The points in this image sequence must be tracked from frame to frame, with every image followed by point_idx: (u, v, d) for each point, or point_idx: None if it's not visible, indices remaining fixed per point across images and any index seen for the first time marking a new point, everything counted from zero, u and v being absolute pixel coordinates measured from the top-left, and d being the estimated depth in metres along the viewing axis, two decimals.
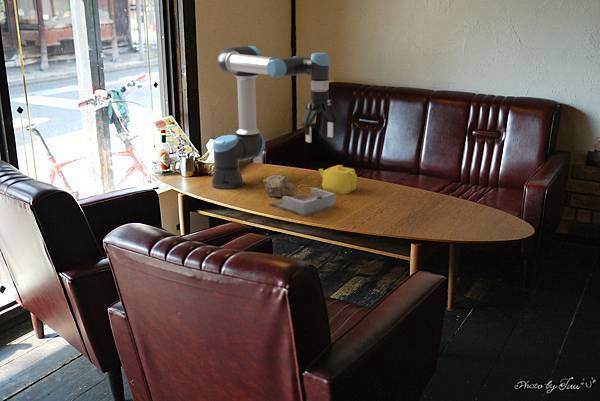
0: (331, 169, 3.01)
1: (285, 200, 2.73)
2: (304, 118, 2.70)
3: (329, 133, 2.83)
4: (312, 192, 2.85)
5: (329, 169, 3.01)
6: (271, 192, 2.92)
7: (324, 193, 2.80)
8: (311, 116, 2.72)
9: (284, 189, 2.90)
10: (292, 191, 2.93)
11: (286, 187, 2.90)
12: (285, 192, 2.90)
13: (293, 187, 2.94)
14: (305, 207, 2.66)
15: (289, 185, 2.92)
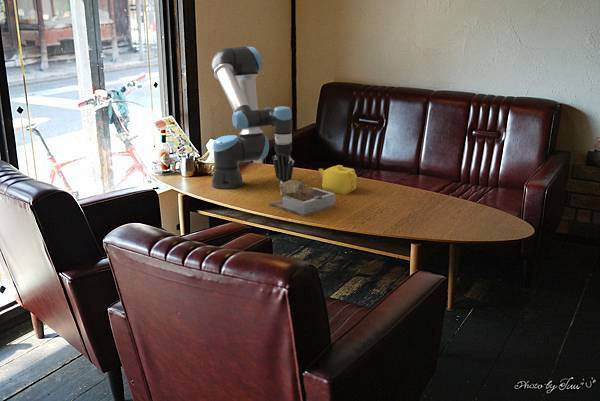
0: (331, 169, 3.01)
1: (285, 200, 2.73)
2: None
3: None
4: (312, 192, 2.85)
5: (329, 169, 3.01)
6: None
7: (324, 193, 2.80)
8: None
9: (301, 195, 2.77)
10: (309, 197, 2.80)
11: (302, 193, 2.77)
12: (301, 198, 2.77)
13: (310, 193, 2.80)
14: (305, 207, 2.66)
15: (306, 191, 2.79)
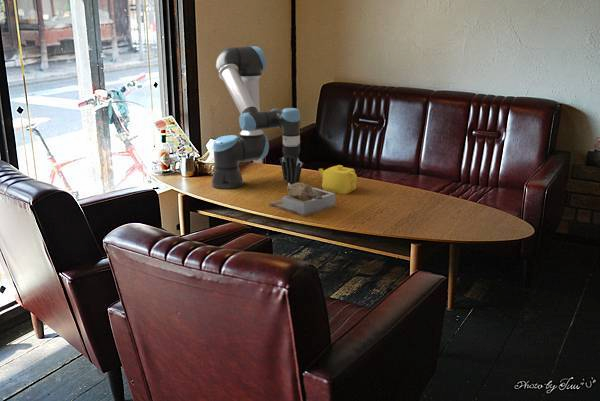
0: (331, 169, 3.01)
1: (285, 200, 2.73)
2: None
3: None
4: None
5: (329, 169, 3.01)
6: None
7: (324, 193, 2.80)
8: None
9: (306, 198, 2.73)
10: None
11: (308, 196, 2.73)
12: None
13: None
14: (305, 207, 2.66)
15: (312, 194, 2.74)
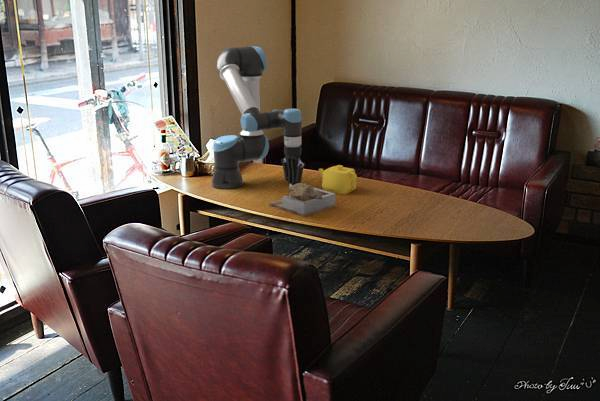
0: (331, 169, 3.01)
1: (285, 200, 2.73)
2: None
3: None
4: None
5: (329, 169, 3.01)
6: None
7: (324, 193, 2.80)
8: None
9: (308, 199, 2.72)
10: None
11: (310, 196, 2.72)
12: None
13: None
14: (305, 207, 2.66)
15: (314, 195, 2.73)
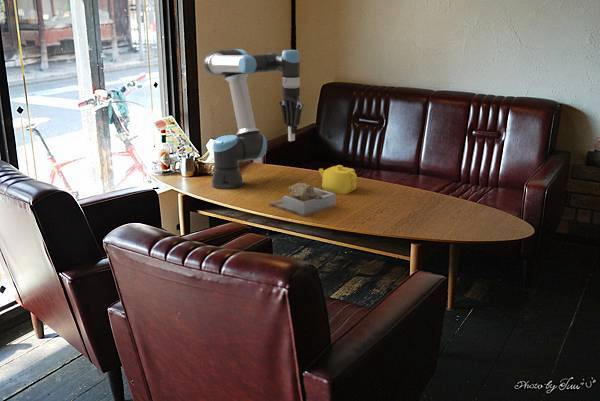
0: (331, 169, 3.01)
1: (285, 200, 2.73)
2: None
3: None
4: None
5: (329, 169, 3.01)
6: None
7: (324, 193, 2.80)
8: None
9: (308, 199, 2.72)
10: None
11: (310, 196, 2.72)
12: None
13: None
14: (305, 207, 2.66)
15: (314, 195, 2.73)
